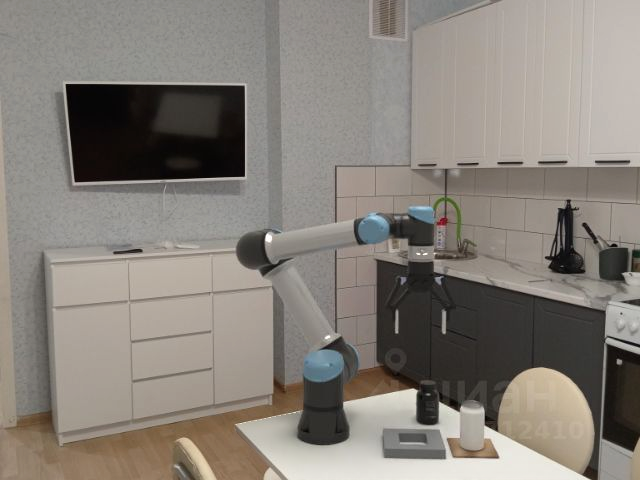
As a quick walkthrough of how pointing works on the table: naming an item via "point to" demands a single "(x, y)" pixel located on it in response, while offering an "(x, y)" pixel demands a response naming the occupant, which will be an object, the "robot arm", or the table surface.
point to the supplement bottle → (427, 403)
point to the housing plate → (425, 451)
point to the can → (472, 425)
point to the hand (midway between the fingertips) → (420, 332)
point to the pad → (459, 452)
